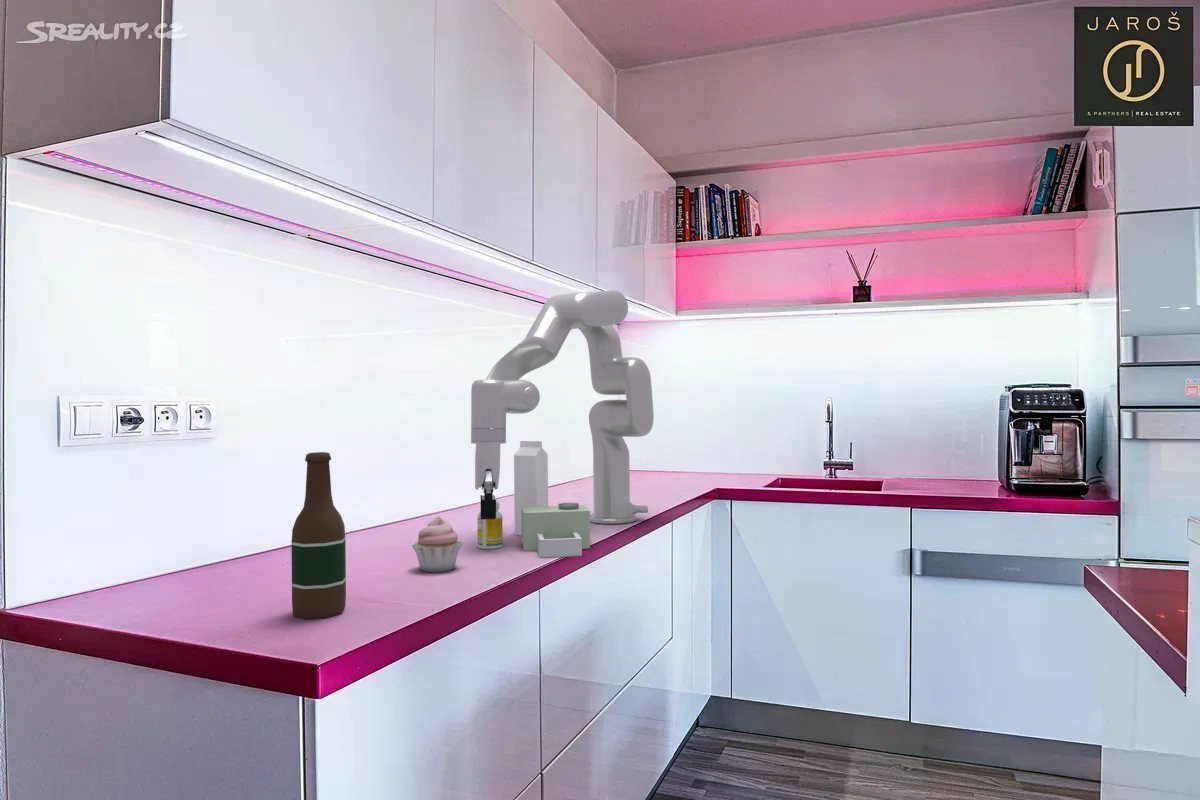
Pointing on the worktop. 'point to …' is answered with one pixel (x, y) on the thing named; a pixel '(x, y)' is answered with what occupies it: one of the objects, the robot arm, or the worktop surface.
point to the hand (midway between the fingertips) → (488, 515)
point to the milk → (529, 479)
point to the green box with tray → (556, 530)
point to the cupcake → (437, 546)
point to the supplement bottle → (490, 531)
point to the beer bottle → (318, 547)
